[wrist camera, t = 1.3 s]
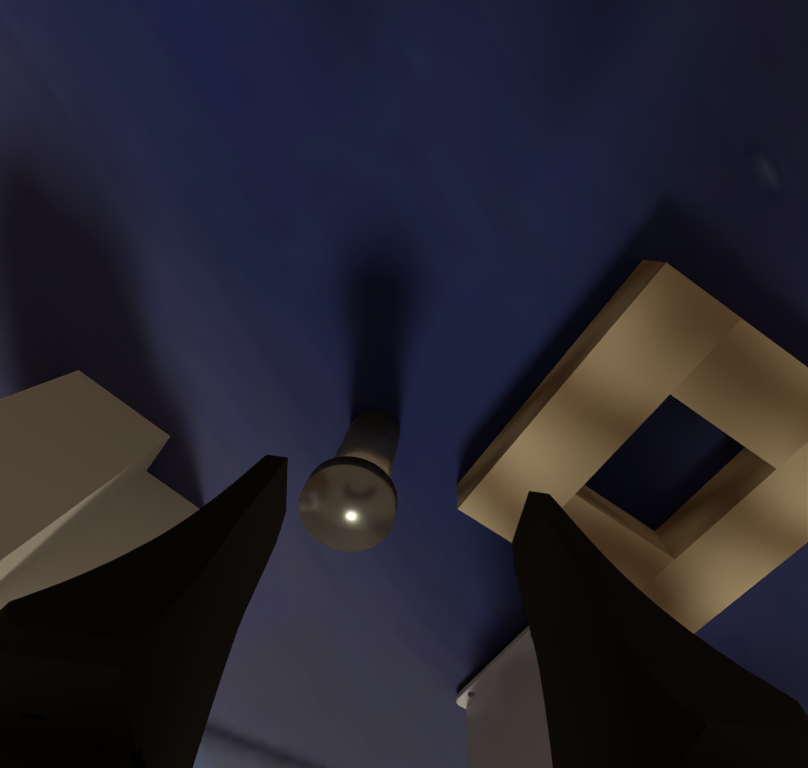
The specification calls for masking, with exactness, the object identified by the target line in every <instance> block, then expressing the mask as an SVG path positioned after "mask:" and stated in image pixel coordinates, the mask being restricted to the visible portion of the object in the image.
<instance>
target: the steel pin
mask: <svg viewBox="0 0 808 768" xmlns="http://www.w3.org/2000/svg"><path fill="white" fill-rule="evenodd" d="M398 441H399V428H398V425H397V423H396V421H395V420H394V419H393V418H392V417H391V416H390V415H389V414H387V413H385V412H383V411H380V410H367V411H364V412H362V413H360V414H358V415H357V416H356V417H355V418H354V420H353V421H352V423H351V425H350V427H349V429H348V431H347V433H346V435H345V437H344V439H343V441H342V443H341V445H340V447H339V449H338V451H337V453H336V455H335V457H334V458H332V459H329V460H327V461H325V462H323V463H322V464H320V465H319V466H318V467H317V468H316V469H315V470H314V471H313V472H312V473H311V475H310V477H309V479H308V480H307V482H306V484H305V486H304V488H303V489H302V492H301V494H300V498H299V513H300V517H301V519H302V522H303V524H304V526H305V527H306V529H307V530H308V531H309V533H310V534H311V535H312V536H313V537H314V538H316V539H317V540H318V541H320V542H321V543H323V544H324V545H326V546H328V547H331V548H333V549H337V550H341V551H350V552H353V551H362V550H366V549H369V548H372V547H374V546H376V545H377V544H379V543H380V542H382V541H383V540H384V539H385V538H386V537H387V536H388V534H389V533H390V531H391V529H392V527H393V524H394V520H395V515H396V509H397V492H396V489H395V486H394V484H393V482H392V480H391V479H390V475H391V471H392V467H393V462H394V458H395V454H396V449H397V445H398Z"/></svg>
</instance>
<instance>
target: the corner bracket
mask: <svg viewBox="0 0 808 768" xmlns="http://www.w3.org/2000/svg"><path fill="white" fill-rule="evenodd" d="M169 438H170V436H169V435H168V434H167V433H165V432H164V431H162V430H161V429H160V428H158V427H157V426H155V425H154V424H153V423H151V422H150V421H149V420H147V419H146V418H144V417H143V416H142V415H140V414H139V413H137V412H136V411H135V410H133V409H132V408H130V407H129V406H128V405H126V404H125V403H124V402H122V401H121V400H119V399H118V398H117V397H115V396H114V395H112V394H111V393H110V392H108V391H107V390H106V389H104V388H103V387H101V386H100V385H99V384H97V383H96V382H94V381H93V380H92V379H90V378H89V377H87V376H86V375H85V374H83V373H82V372H81V371H79V370H78V371H75V372H72V373H69V374H67V375H64V376H61V377H58V378H56V379H53V380H50V381H48V382H45V383H42V384H39V385H37V386H34V387H31V388H28V389H26V390H23V391H20V392H18V393H15V394H12V395H9V396H7V397H4V398H1V399H0V610H1V609H2V608H3V607H4V606H5V605H6V604H7V603H8V602H9V601H12V600H15V599H18V598H21V597H24V596H26V595H29V594H32V593H34V592H37V591H40V590H42V589H45V588H48V587H51V586H53V585H56V584H59V583H61V582H64V581H66V580H69V579H71V578H74V577H76V576H78V575H81V574H83V573H85V572H88V571H90V570H92V569H95V568H97V567H99V566H101V565H103V564H105V563H108V562H110V561H112V560H114V559H116V558H118V557H120V556H122V555H124V554H126V553H128V552H130V551H132V550H134V549H135V548H137V547H139V546H141V545H143V544H145V543H147V542H149V541H151V540H153V539H154V538H156V537H158V536H160V535H161V534H163V533H165V532H166V531H168V530H169V529H171V528H173V527H174V526H176V525H177V524H179V523H180V522H182V521H183V520H185V519H186V518H188V517H189V516H191V515H192V514H194V513H195V512H196V511H198V510H199V509H200V508H198V507H197V506H195V505H194V504H192V503H191V502H190V501H188V500H187V499H185V498H184V497H182V496H181V495H180V494H178V493H177V492H175V491H174V490H172V489H171V488H170V487H168V486H167V485H165V484H164V483H162V482H161V481H160V480H158V479H157V478H155V477H154V476H153V475H151V474H150V473H148V472H147V469H148V468H149V467H150V465H151V464H152V462H153V461H154V459H155V458H156V457H157V455H158V454H159V452H160V451H161V449H162V448H163V447H164V445H165V444H166V442H167V441H168V439H169Z"/></svg>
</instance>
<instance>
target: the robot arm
mask: <svg viewBox="0 0 808 768" xmlns="http://www.w3.org/2000/svg"><path fill="white" fill-rule="evenodd" d="M287 463H288V458H286V457H279V456H272V455H266V456H265V457H263V458H262V459H261V460H260V461H259V462H257V463H256V464H255V465H254V466H253V467H252V468H251V469H249V470H248V471H247V472H246V473H245V474H244V475H242V476H241V477H240V478H239V479H238V480H237V481H235V482H234V483H233V484H232V485H230V486H229V487H228V488H227V489H225V490H224V491H223V492H222V493H221V494H219V495H218V496H217V497H215V498H214V499H213V500H212V501H210V502H209V503H207V504H206V505H205V506H203V507H202V508H201V509H199V510H198V511H196V512H195V513H194V514H192V515H191V516H189V517H188V518H186V519H185V520H183V521H182V522H180V523H179V524H177V525H176V526H174V527H173V528H171V529H169V530H168V531H166V532H165V533H163V534H161V535H160V536H158V537H156V538H154V539H153V540H151V541H149V542H147V543H145V544H143V545H141V546H139V547H137V548H135V549H134V550H132V551H130V552H128V553H126V554H124V555H122V556H120V557H118V558H116V559H114V560H112V561H110V562H108V563H105V564H103V565H101V566H99V567H97V568H95V569H92V570H90V571H88V572H85V573H83V574H81V575H78V576H76V577H74V578H71V579H69V580H66V581H64V582H61V583H59V584H56V585H53V586H51V587H48V588H45V589H42V590H40V591H37V592H34V593H32V594H29V595H26V596H24V597H21V598H18V599H15V600H12V601H9V602H8V603H7V604H6V605H5V606H4V607H3V608H2V609H1V610H0V768H193V765H194V762H195V758H196V755H197V752H198V748H199V745H200V742H201V739H202V736H203V733H204V729H205V726H206V723H207V720H208V717H209V713H210V710H211V707H212V704H213V701H214V698H215V695H216V692H217V689H218V686H219V683H220V680H221V677H222V674H223V671H224V668H225V665H226V662H227V659H228V656H229V653H230V650H231V647H232V644H233V642H234V639H235V636H236V633H237V630H238V627H239V625H240V622H241V620H242V618H243V615H244V613H245V610H246V608H247V606H248V604H249V602H250V599H251V597H252V595H253V593H254V591H255V588H256V586H257V584H258V582H259V580H260V578H261V575H262V573H263V571H264V569H265V567H266V564H267V562H268V560H269V558H270V555H271V553H272V551H273V549H274V546H275V544H276V541H277V538H278V535H279V532H280V529H281V526H282V523H283V519H284V516H285V513H286V494H287ZM512 546H513V556H514V564H515V571H516V577H517V581H518V585H519V589H520V593H521V597H522V601H523V605H524V609H525V613H526V617H527V621H528V625H529V626H528V627H527V628H526V629H525V630H523V631H522V632H521V633H520V634H519V635H518V636H517V637H516V638H515V639H514V640H513V641H512V642H511V643H510V644H509V645H508V646H507V647H506V648H505V649H504V650H503V651H502V652H501V653H500V654H498V655H497V656H496V657H495V658H494V659H493V660H492V661H491V662H490V663H489V664H488V665H487V666H486V667H485V668H484V669H483V670H482V671H481V672H480V673H479V674H478V675H477V676H476V677H475V678H473V679H472V680H471V681H470V682H469V683H468V684H467V685H466V686H465V687H464V688H463V689H462V690H461V691H460V692H459V693H458V694H457V695H456V702H457V704H458V705H459V706H461V707H463V708H465V709H466V724H467V747H468V768H808V715H807V714H806V712H805V711H804V710H803V708H802V707H801V705H800V704H799V703H798V701H796V700H795V699H793V698H791V697H790V696H788V695H786V694H785V693H783V692H781V691H780V690H778V689H777V688H775V687H773V686H772V685H770V684H768V683H767V682H765V681H763V680H762V679H760V678H758V677H757V676H755V675H754V674H752V673H750V672H749V671H747V670H745V669H744V668H742V667H741V666H739V665H738V664H736V663H735V662H733V661H732V660H730V659H729V658H727V657H726V656H725V655H723V654H722V653H720V652H719V651H717V650H716V649H714V648H713V647H711V646H710V645H709V644H707V643H706V642H704V641H703V640H702V639H700V638H699V637H697V636H696V635H695V634H693V633H692V632H691V631H689V630H688V629H687V628H686V627H684V626H683V625H682V624H680V623H679V622H678V621H676V620H675V619H674V618H673V617H671V616H670V615H669V614H668V613H666V612H665V611H664V610H663V609H661V608H660V607H659V606H658V605H657V604H655V603H654V602H653V601H652V600H651V599H650V598H649V597H647V596H646V595H645V594H644V593H643V592H642V591H641V590H639V589H638V588H637V587H636V586H635V585H634V584H633V583H632V582H631V581H630V580H629V579H627V578H626V577H625V576H624V575H623V574H622V573H621V572H620V571H619V570H618V569H617V568H616V567H615V566H614V565H613V564H612V563H611V562H610V561H609V560H608V559H607V558H606V557H605V556H604V555H603V553H602V552H601V551H600V550H599V549H598V548H597V547H596V546H595V545H594V544H593V543H592V542H591V541H590V539H589V538H588V537H587V536H586V535H585V534H584V533H583V532H582V530H581V529H580V528H579V527H578V526H577V525H576V524H575V522H574V521H573V520H572V519H571V518H570V517H569V516H568V514H567V513H566V512H565V511H564V510H563V509H562V507H561V506H560V505H559V504H558V503H557V502H556V501H555V500H554V498H553V497H552V496H551V495H550V494H547V493H540V492H533V491H529V492H528V495H527V498H526V501H525V504H524V507H523V510H522V513H521V516H520V519H519V522H518V525H517V528H516V531H515V534H514V537H513V540H512Z"/></svg>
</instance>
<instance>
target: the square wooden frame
mask: <svg viewBox="0 0 808 768" xmlns="http://www.w3.org/2000/svg"><path fill="white" fill-rule="evenodd" d="M670 394H671V395H672V396H673V397H675V398H676V399H678V400H679V401H680V402H682V403H683V404H685V405H686V406H688V407H689V408H690V409H692V410H693V411H695V412H696V413H698V414H699V415H700V416H702V417H703V418H705V419H706V420H708V421H709V422H710V423H712V424H713V425H715V426H716V427H717V428H719V429H720V430H722V431H723V432H725V433H726V434H727V435H729V436H730V437H732V438H733V439H735V440H736V441H737V442H739V443H740V444H742V445H743V446H745V448H744V449H742V450H741V451H740V452H739V453H738V454H737V455H736V456H735V457H734V458H733V459H732V460H731V461H730V462H729V463H727V464H726V465H725V466H724V467H723V468H722V469H721V470H720V471H719V472H718V473H717V474H716V475H715V476H714V477H712V478H711V479H710V480H709V481H708V482H707V483H706V484H705V485H704V486H703V487H702V488H701V489H700V490H699V491H697V492H696V493H695V494H694V495H693V496H692V497H691V498H690V499H689V500H688V501H687V502H686V503H685V504H684V505H683V506H681V507H680V508H679V509H678V510H677V511H676V512H675V513H674V514H673V515H672V516H671V517H670V518H669V519H668V520H666V521H665V522H664V523H663V524H662V525H661V526H660V527H659V528H658V529H657V530H656V531H654V530H652V529H651V528H649V527H648V526H646V525H645V524H643V523H642V522H640V521H639V520H637V519H635V518H634V517H632V516H631V515H629V514H628V513H626V512H625V511H623V510H622V509H620V508H619V507H617V506H616V505H614V504H613V503H611V502H610V501H608V500H607V499H605V498H604V497H602V496H601V495H599V494H598V493H596V492H594V491H593V490H591V489H590V488H588V487H587V486H585V485H584V484H585V483H586V482H587V481H588V480H589V479H590V478H591V477H592V476H593V475H594V474H595V473H596V472H597V471H598V470H599V468H600V467H601V466H602V465H603V464H604V463H605V462H606V461H607V460H608V459H609V458H610V457H611V456H612V455H613V454H614V453H615V452H616V451H617V450H618V448H619V447H620V446H621V445H622V444H623V443H624V442H625V441H626V440H627V439H628V438H629V437H630V436H631V435H632V434H633V433H634V432H635V431H636V430H637V429H638V427H639V426H640V425H641V424H642V423H643V422H644V421H645V420H646V419H647V418H648V417H649V416H650V415H651V414H652V413H653V412H654V411H655V410H656V409H657V408H658V406H659V405H660V404H661V403H662V402H663V401H664V400H665V399H666V398H667V397H668V396H669V395H670ZM529 491H533V492H540V493H547V494H550V495H551V496H552V497H553V498H554V500H555V501H556V502H557V503H558V504H559V505H560V506H561V507H562V509H563V510H564V511H565V512H566V513H567V514H568V516H569V517H570V518H571V519H572V520H573V521H574V522H575V524H576V525H577V526H578V527H579V528H580V529H581V530H582V532H583V533H584V534H585V535H586V536H587V537H588V538H589V539H590V541H591V542H592V543H593V544H594V545H595V546H596V547H597V548H598V549H599V550H600V551H601V552H602V553H603V555H604V556H605V557H606V558H607V559H608V560H609V561H610V562H611V563H612V564H613V565H614V566H615V567H616V568H617V569H618V570H619V571H620V572H621V573H622V574H623V575H624V576H625V577H626V578H627V579H629V580H630V581H631V582H632V583H633V584H634V585H635V586H636V587H637V588H638V589H639V590H641V591H642V592H643V593H644V594H645V595H646V596H647V597H649V598H650V599H651V600H652V601H653V602H654V603H655V604H657V605H658V606H659V607H660V608H661V609H663V610H664V611H665V612H666V613H668V614H669V615H670V616H671V617H673V618H674V619H675V620H676V621H678V622H679V623H680V624H682V625H683V626H684V627H686V628H687V629H688V630H689V631H691V632H692V633H693V634H694V633H695V632H696V631H698V630H699V629H700V628H701V627H703V626H704V625H705V624H706V623H708V622H709V621H710V620H711V619H713V618H714V617H715V616H716V615H718V614H719V613H720V612H721V611H723V610H724V609H725V608H726V607H728V606H729V605H730V604H731V603H732V602H734V601H735V600H736V599H737V598H739V597H740V596H741V595H742V594H744V593H745V592H746V591H747V590H749V589H750V588H751V587H752V586H754V585H755V584H756V583H757V582H759V581H760V580H761V579H762V578H764V577H765V576H766V575H767V574H769V573H770V572H771V571H772V570H773V569H775V568H776V567H777V566H778V565H780V564H781V563H782V562H783V561H785V560H786V559H787V558H788V557H790V556H791V555H792V554H793V553H795V552H796V551H797V550H798V549H800V548H801V547H802V546H803V545H805V544H806V543H807V542H808V367H807V366H805V365H804V364H802V363H801V362H800V361H798V360H797V359H796V358H794V357H793V356H792V355H790V354H789V353H788V352H786V351H785V350H784V349H782V348H781V347H780V346H778V345H777V344H776V343H774V342H773V341H771V340H770V339H769V338H767V337H766V336H765V335H763V334H762V333H761V332H759V331H758V330H757V329H755V328H754V327H753V326H751V325H750V324H749V323H747V322H746V321H745V320H743V319H742V318H740V317H739V316H738V315H736V314H735V313H734V312H732V311H731V310H730V309H728V308H727V307H726V306H724V305H723V304H722V303H720V302H719V301H718V300H716V299H715V298H714V297H712V296H711V295H709V294H708V293H707V292H705V291H704V290H703V289H701V288H700V287H699V286H697V285H696V284H695V283H693V282H692V281H691V280H689V279H688V278H687V277H685V276H684V275H683V274H681V273H680V272H678V271H677V270H676V269H674V268H673V267H672V266H670V265H669V264H668V263H666V262H658V261H650V260H642V261H641V263H640V264H639V265H638V266H637V267H636V269H635V270H634V271H633V272H632V274H631V275H630V276H629V277H628V278H627V280H626V281H625V282H624V283H623V284H622V286H621V287H620V288H619V289H618V290H617V292H616V293H615V294H614V295H613V297H612V298H611V299H610V300H609V301H608V303H607V304H606V305H605V306H604V307H603V309H602V310H601V311H600V312H599V313H598V315H597V316H596V317H595V318H594V320H593V321H592V322H591V323H590V324H589V326H588V327H587V328H586V329H585V330H584V332H583V333H582V334H581V335H580V336H579V338H578V339H577V340H576V341H575V343H574V344H573V345H572V346H571V347H570V349H569V350H568V351H567V352H566V353H565V355H564V356H563V357H562V358H561V360H560V361H559V362H558V363H557V364H556V366H555V367H554V368H553V369H552V370H551V372H550V373H549V374H548V375H547V376H546V378H545V379H544V380H543V381H542V383H541V384H540V385H539V386H538V387H537V389H536V390H535V391H534V392H533V393H532V395H531V396H530V397H529V398H528V399H527V401H526V402H525V403H524V404H523V406H522V407H521V408H520V409H519V410H518V412H517V413H516V414H515V415H514V416H513V418H512V419H511V420H510V421H509V422H508V424H507V425H506V426H505V427H504V429H503V430H502V431H501V432H500V433H499V435H498V436H497V437H496V438H495V439H494V441H493V442H492V443H491V444H490V445H489V447H488V448H487V449H486V450H485V452H484V453H483V454H482V455H481V456H480V458H479V459H478V460H477V461H476V462H475V464H474V465H473V466H472V467H471V468H470V470H469V471H468V472H467V473H466V475H465V476H464V477H463V478H462V479H461V481H460V482H459V483H458V484H457V503H458V509H459V510H460V511H462V512H464V513H465V514H467V515H468V516H470V517H472V518H473V519H475V520H476V521H478V522H479V523H481V524H483V525H484V526H486V527H487V528H489V529H491V530H492V531H494V532H495V533H497V534H499V535H500V536H502V537H503V538H505V539H507V540H508V541H510V542H511V543H512V540H513V537H514V534H515V531H516V528H517V525H518V522H519V519H520V516H521V513H522V510H523V507H524V504H525V501H526V498H527V495H528V492H529Z"/></svg>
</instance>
